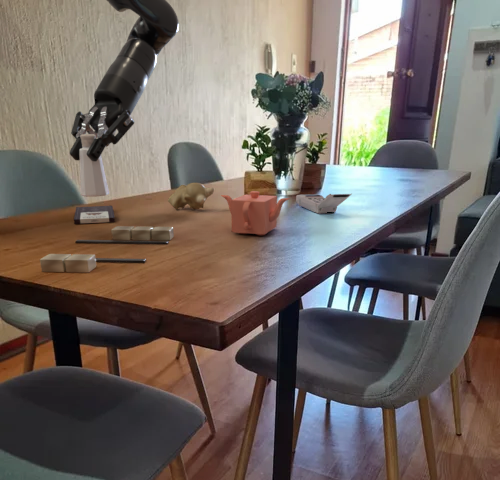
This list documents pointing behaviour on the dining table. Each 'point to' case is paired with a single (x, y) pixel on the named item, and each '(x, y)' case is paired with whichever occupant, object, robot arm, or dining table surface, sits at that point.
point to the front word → (77, 262)
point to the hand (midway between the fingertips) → (82, 157)
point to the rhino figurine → (190, 196)
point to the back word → (136, 235)
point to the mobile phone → (321, 202)
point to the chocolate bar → (94, 214)
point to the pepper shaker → (91, 171)
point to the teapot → (254, 213)
